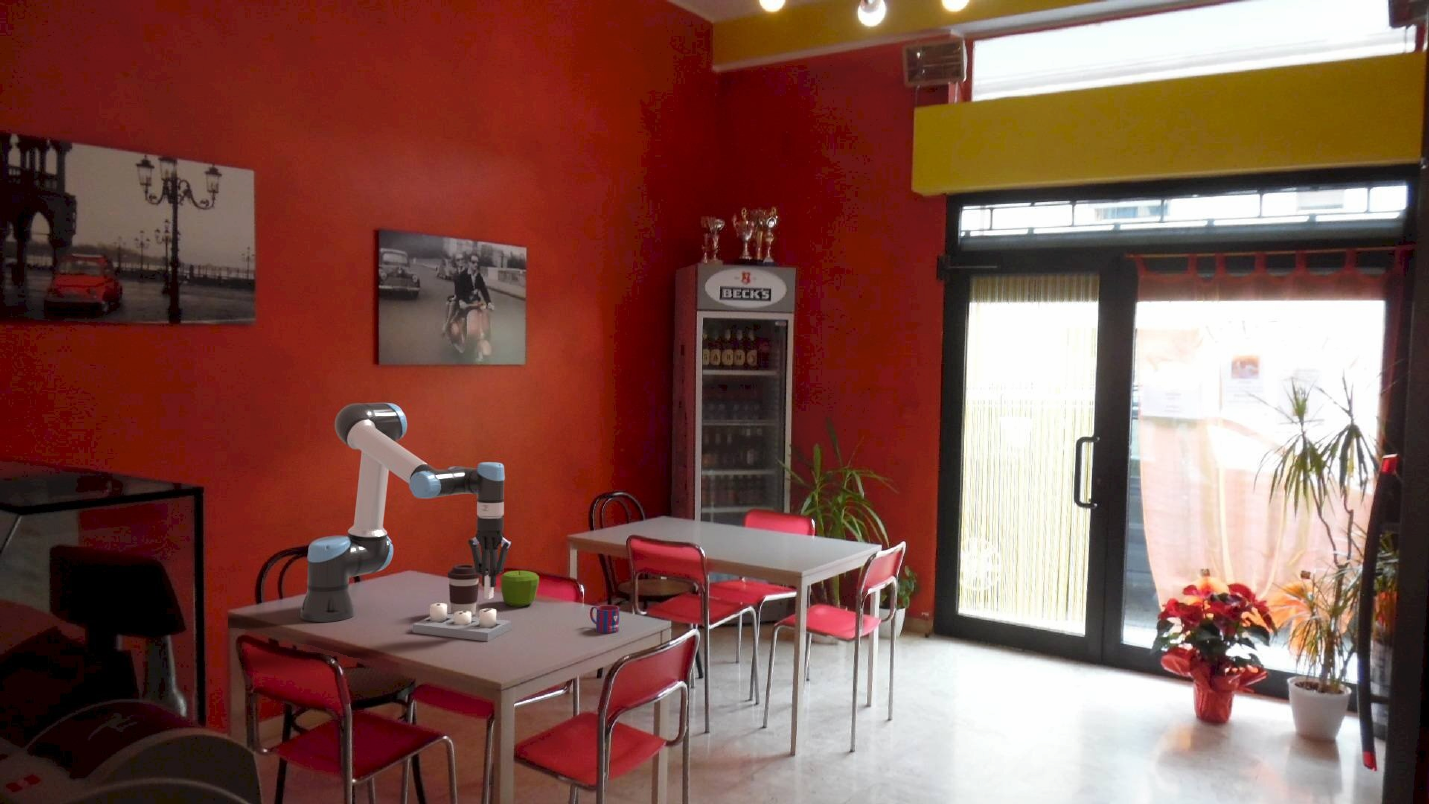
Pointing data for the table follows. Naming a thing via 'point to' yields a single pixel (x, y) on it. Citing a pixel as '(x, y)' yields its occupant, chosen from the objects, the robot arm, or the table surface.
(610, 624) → the cup
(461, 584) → the coffee cup
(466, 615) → the button
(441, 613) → the button
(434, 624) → the console
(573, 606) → the table surface
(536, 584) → the apple
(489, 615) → the button
